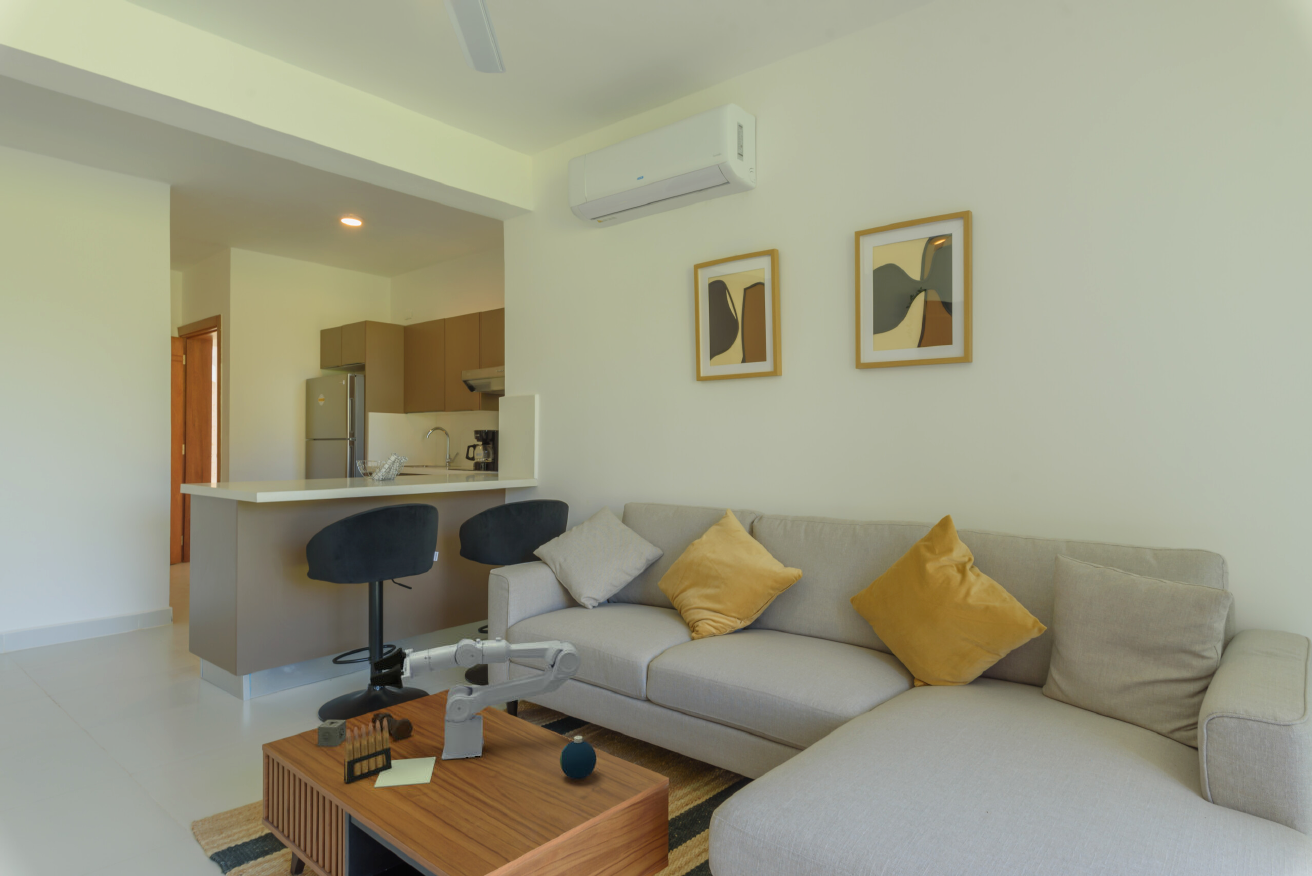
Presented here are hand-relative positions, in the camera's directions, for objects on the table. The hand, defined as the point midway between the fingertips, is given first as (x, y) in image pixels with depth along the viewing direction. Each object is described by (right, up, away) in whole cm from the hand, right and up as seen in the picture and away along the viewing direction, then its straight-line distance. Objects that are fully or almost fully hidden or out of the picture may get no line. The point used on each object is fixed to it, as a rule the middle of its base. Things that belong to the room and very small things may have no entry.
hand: (372, 673), depth 180 cm
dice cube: (-15, -22, +11) cm, 29 cm away
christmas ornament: (+51, -21, -10) cm, 56 cm away
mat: (+10, -21, -6) cm, 24 cm away
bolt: (-2, -22, +18) cm, 29 cm away
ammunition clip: (+2, -21, -8) cm, 23 cm away
